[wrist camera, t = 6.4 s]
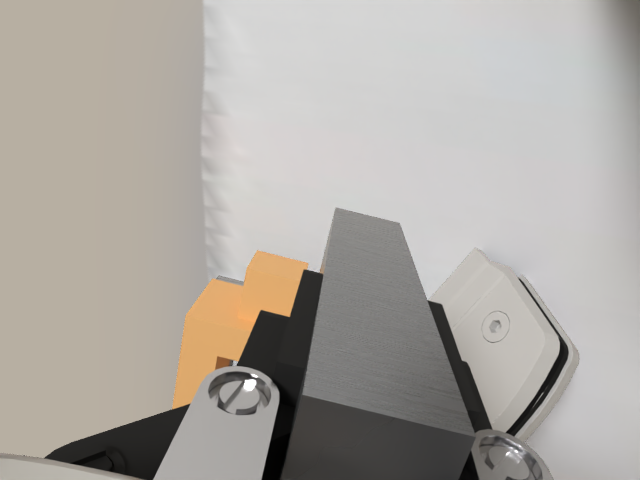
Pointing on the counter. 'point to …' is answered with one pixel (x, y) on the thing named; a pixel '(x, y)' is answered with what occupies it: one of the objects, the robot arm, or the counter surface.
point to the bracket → (232, 318)
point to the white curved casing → (507, 343)
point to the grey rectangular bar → (375, 369)
